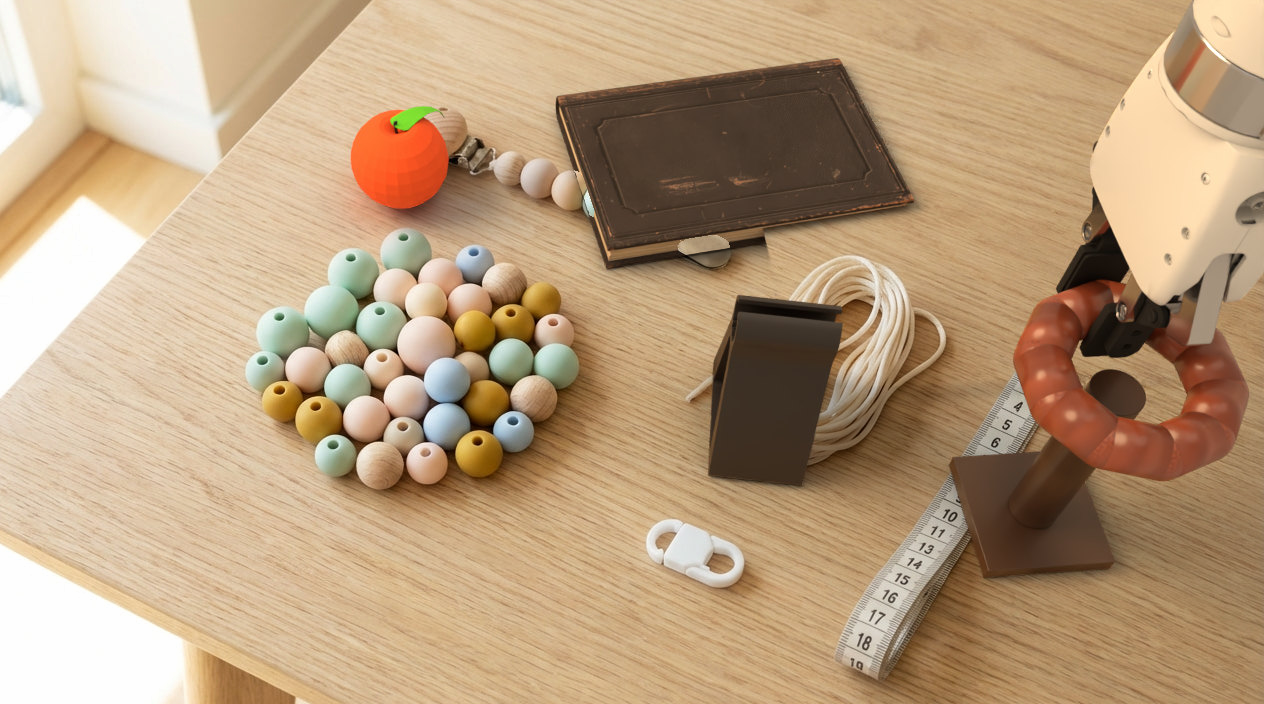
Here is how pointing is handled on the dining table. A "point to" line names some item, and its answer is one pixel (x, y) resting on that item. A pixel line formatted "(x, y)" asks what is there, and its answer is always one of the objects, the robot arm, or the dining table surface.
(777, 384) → the phone stand
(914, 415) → the dining table surface
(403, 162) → the clementine
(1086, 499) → the peg
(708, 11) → the dining table surface
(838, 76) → the hardcover book
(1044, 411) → the ring
